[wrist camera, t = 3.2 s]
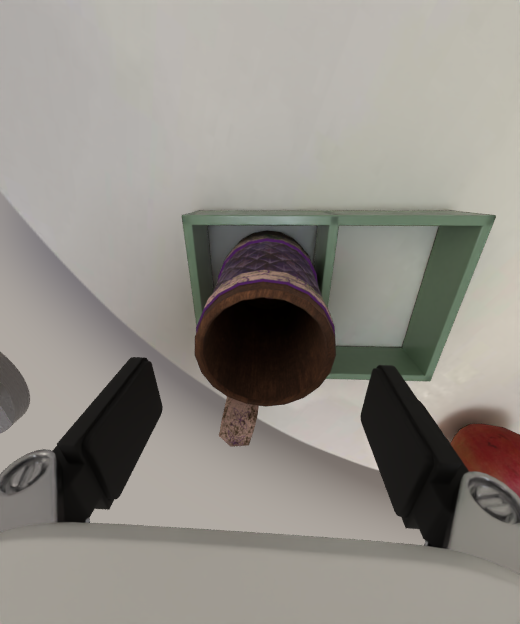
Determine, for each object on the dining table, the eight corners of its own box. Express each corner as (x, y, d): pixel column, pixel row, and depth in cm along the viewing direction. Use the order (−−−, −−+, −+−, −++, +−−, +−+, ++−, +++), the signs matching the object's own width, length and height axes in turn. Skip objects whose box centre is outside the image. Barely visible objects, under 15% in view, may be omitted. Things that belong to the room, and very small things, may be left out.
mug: (239, 215, 19) (196, 249, 8) (324, 246, 19) (391, 315, 9) (209, 325, 23) (155, 442, 12) (279, 346, 24) (286, 474, 13)
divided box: (213, 348, 24) (203, 375, 21) (198, 210, 19) (181, 215, 15) (406, 352, 24) (430, 381, 20) (452, 210, 18) (497, 215, 14)
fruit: (416, 445, 29) (479, 557, 20) (456, 398, 26) (555, 508, 17) (476, 458, 30) (563, 572, 21) (524, 414, 26) (653, 528, 18)
